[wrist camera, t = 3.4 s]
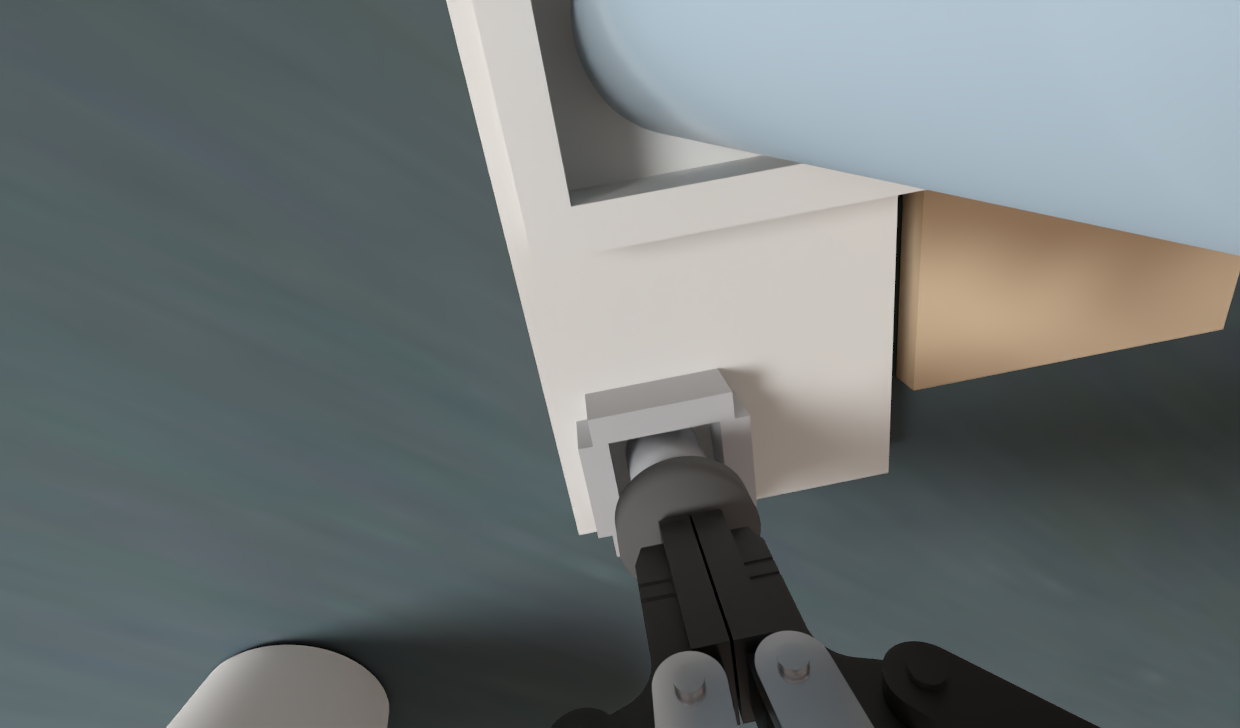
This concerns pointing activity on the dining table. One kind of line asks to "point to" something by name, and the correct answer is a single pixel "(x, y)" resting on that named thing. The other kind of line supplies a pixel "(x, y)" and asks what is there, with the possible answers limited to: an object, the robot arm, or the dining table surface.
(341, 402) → the dining table surface
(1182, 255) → the coaster
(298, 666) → the cup
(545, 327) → the housing
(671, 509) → the plunger
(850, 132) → the bottle
